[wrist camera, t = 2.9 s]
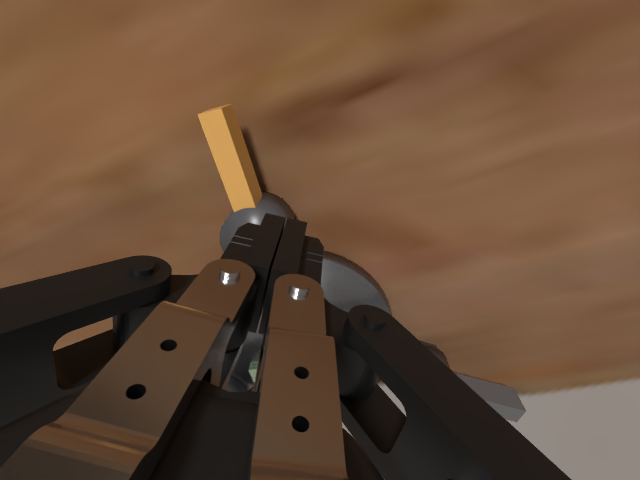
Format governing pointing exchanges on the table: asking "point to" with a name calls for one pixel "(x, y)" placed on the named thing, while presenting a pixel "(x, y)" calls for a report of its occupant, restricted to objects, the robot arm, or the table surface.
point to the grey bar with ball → (491, 392)
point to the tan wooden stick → (238, 173)
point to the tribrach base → (339, 289)
